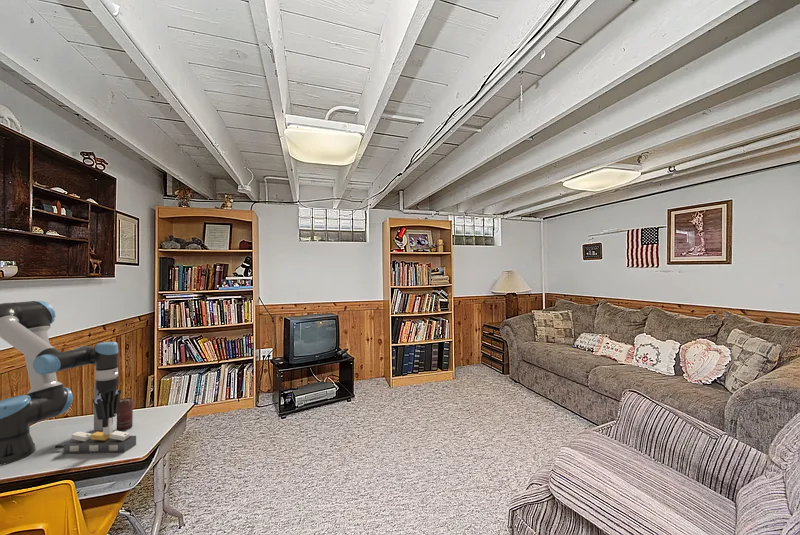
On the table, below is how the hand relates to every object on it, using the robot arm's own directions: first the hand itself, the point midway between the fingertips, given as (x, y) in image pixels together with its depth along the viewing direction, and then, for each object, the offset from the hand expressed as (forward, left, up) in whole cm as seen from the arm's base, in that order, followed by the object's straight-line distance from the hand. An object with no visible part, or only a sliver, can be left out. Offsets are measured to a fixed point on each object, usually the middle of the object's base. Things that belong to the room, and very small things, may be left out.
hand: (107, 433), depth 153 cm
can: (-8, +21, -7) cm, 24 cm away
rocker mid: (-3, 0, -1) cm, 3 cm away
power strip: (-6, 0, -7) cm, 9 cm away
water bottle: (-18, +22, -7) cm, 29 cm away
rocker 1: (-11, 0, -1) cm, 11 cm away
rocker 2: (+5, 0, -1) cm, 5 cm away
